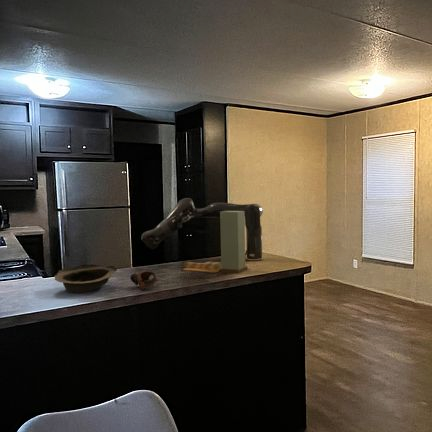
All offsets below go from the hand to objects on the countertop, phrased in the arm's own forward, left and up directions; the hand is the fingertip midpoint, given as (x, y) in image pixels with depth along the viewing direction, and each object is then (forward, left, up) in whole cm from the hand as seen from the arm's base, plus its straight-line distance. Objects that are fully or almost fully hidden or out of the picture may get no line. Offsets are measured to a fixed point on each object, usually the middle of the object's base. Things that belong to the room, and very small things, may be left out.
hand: (193, 211), depth 236 cm
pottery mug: (+33, -30, -31) cm, 55 cm away
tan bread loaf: (+5, +3, -30) cm, 31 cm away
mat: (+5, +5, -31) cm, 32 cm away
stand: (+16, +17, -31) cm, 39 cm away
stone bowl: (+25, -53, -31) cm, 67 cm away
